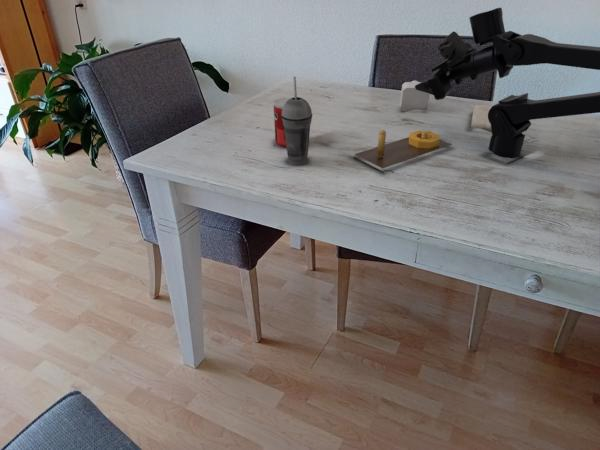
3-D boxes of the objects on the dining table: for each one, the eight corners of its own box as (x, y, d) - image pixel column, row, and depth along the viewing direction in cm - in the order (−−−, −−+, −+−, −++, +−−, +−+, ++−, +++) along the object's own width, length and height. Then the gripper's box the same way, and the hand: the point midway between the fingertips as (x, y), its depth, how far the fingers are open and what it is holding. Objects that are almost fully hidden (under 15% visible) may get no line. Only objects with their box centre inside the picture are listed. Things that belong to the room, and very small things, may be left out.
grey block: (422, 99, 148) (427, 70, 141) (425, 117, 141) (431, 88, 134) (397, 99, 149) (401, 70, 142) (399, 116, 142) (403, 87, 135)
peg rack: (451, 148, 116) (456, 118, 111) (382, 173, 104) (385, 140, 100) (421, 136, 123) (425, 107, 118) (353, 158, 111) (355, 127, 107)
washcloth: (514, 115, 136) (517, 105, 134) (515, 136, 122) (518, 125, 120) (473, 111, 139) (475, 101, 138) (469, 131, 125) (471, 120, 124)
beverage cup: (286, 169, 107) (283, 83, 96) (279, 157, 113) (276, 75, 102) (316, 165, 109) (316, 80, 98) (307, 153, 114) (307, 72, 104)
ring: (444, 143, 115) (445, 137, 114) (424, 150, 112) (425, 143, 111) (422, 135, 121) (423, 128, 120) (402, 141, 117) (403, 134, 116)
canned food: (285, 135, 125) (283, 95, 119) (310, 140, 122) (309, 100, 116) (269, 144, 120) (267, 103, 114) (295, 150, 116) (294, 108, 110)
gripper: (484, 13, 108) (428, 34, 120) (449, 48, 99) (393, 67, 111) (499, 56, 112) (444, 73, 124) (467, 93, 103) (411, 107, 115)
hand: (424, 79), depth 118 cm, fingers open, 9 cm apart
